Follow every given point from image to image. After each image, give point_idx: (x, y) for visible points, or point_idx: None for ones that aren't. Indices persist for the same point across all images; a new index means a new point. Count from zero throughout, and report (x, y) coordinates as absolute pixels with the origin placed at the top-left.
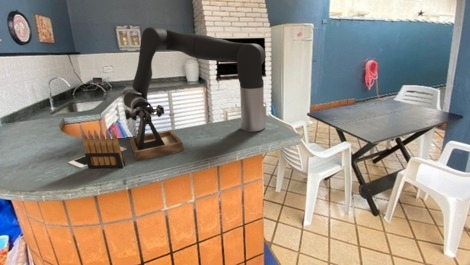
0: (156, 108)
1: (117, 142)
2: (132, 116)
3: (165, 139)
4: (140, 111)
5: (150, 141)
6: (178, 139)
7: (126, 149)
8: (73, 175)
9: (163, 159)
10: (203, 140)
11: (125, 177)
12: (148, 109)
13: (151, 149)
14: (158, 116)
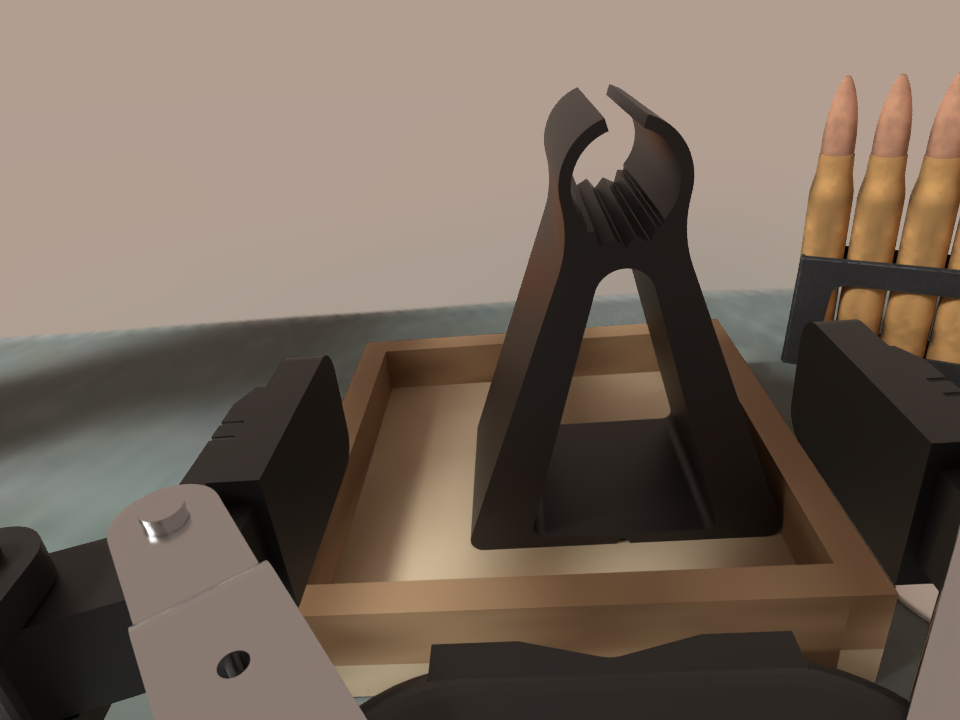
0: (169, 560)
1: (816, 176)
2: (892, 348)
3: (421, 547)
4: (666, 122)
5: (597, 530)
6: (360, 380)
7: (896, 585)
8: None
9: None
10: (131, 481)
11: (744, 295)
12: (437, 660)
13: (600, 330)
14: (342, 465)
